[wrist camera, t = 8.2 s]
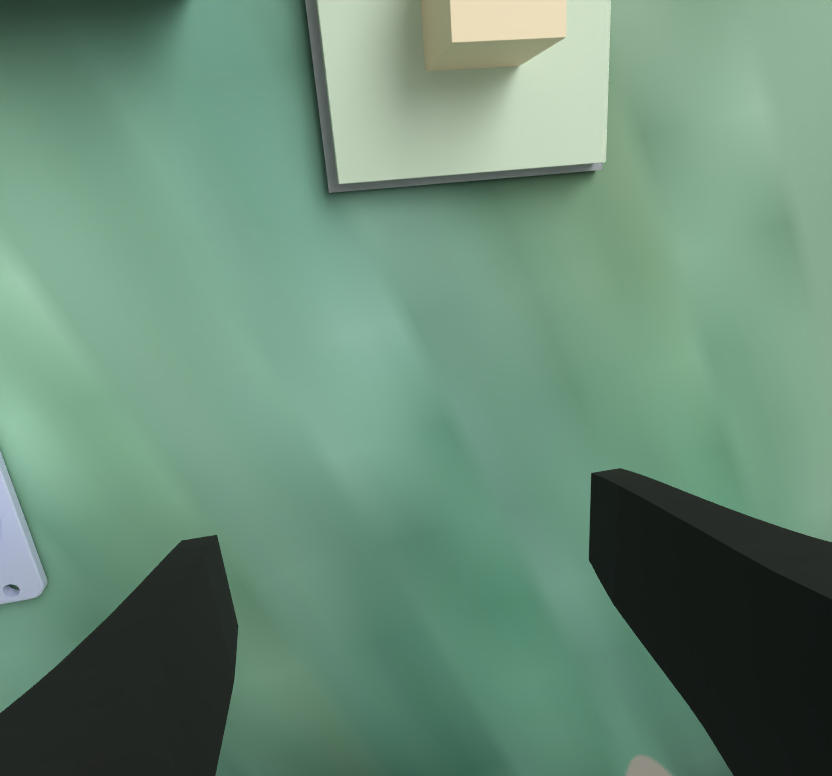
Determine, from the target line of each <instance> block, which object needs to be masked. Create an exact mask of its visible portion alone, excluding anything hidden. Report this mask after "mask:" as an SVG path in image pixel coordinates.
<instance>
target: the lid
mask: <svg viewBox="0 0 832 776" xmlns="http://www.w3.org/2000/svg"><path fill="white" fill-rule="evenodd" d="M316 4H317V13H318V21H319V30H320V38H321V46H322V55H323V63H324V72H325V80H326V88H327V97H328V105H329V114H330V122H331V130H332V139H333V147H334V156H335V164H336V172H337V181H338V184H349V183H362V182H374V181H386V180H398V179H410V178H422V177H434V176H447V175H459V174H471V173H483V172H495V171H507V170H519V169H532V168H544V167H556V166H568V165H580V164H592V163H601V162H606V140H607V108H608V76H609V44H610V12H611V0H316Z"/></svg>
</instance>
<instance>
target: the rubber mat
mask: <svg viewBox="0 0 832 776" xmlns="http://www.w3.org/2000/svg"><path fill="white" fill-rule="evenodd" d="M305 5H306V13H307V21H308V29H309V37H310V45H311V53H312V61H313V69H314V77H315V85H316V93H317V101H318V109H319V117H320V125H321V133H322V141H323V150H324V158H325V166H326V174H327V182H328V190H329V193H333V192H345V191H357V190H369V189H380V188H392V187H404V186H416V185H428V184H440V183H452V182H464V181H476V180H488V179H500V178H512V177H524V176H536V175H548V174H560V173H572V172H584V171H596V170H602V165H603V162H601V163H592V164H580V165H568V166H556V167H544V168H532V169H519V170H507V171H495V172H483V173H471V174H459V175H447V176H434V177H422V178H410V179H398V180H386V181H374V182H362V183H349V184H338V181H337V172H336V164H335V156H334V147H333V139H332V130H331V122H330V114H329V105H328V97H327V88H326V80H325V72H324V63H323V55H322V46H321V38H320V30H319V21H318V13H317V4H316V0H305Z"/></svg>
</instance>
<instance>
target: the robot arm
mask: <svg viewBox="0 0 832 776" xmlns="http://www.w3.org/2000/svg"><path fill="white" fill-rule="evenodd" d="M589 561H590V563H591V565H592V567H593V569H594V570H595V572H596V574H597V576H598V578H599V580H600V582H601V584H602V585H603V587H604V589H605V591H606V592H607V594H608V596H609V597H610V599H611V601H612V603H613V604H614V606H615V607H616V608H617V610H618V611H619V613H620V614H621V615H622V617H623V618H624V619H625V621H626V622H627V624H628V625H629V626H630V628H631V629H632V630H633V632H634V633H635V634H636V636H637V637H638V638H639V640H640V641H641V642H642V644H643V645H644V646H645V648H646V649H647V650H648V652H649V653H650V654H651V656H652V657H653V658H654V660H655V661H656V662H657V664H658V665H659V666H660V668H661V669H662V670H663V672H664V673H665V674H666V676H667V677H668V678H669V680H670V681H671V682H672V684H673V685H674V686H675V688H676V689H677V690H678V692H679V693H680V694H681V696H682V697H683V698H684V700H685V701H686V702H687V704H688V705H689V707H690V708H691V710H692V711H693V712H694V714H695V715H696V717H697V718H698V720H699V721H700V723H701V724H702V725H703V727H704V728H705V730H706V731H707V733H708V735H709V736H710V738H711V740H712V741H713V743H714V745H715V746H716V748H717V749H718V751H719V753H720V754H721V756H722V758H723V759H724V761H725V762H726V764H727V766H728V767H729V769H730V771H731V772H732V774H733V775H734V776H832V542H828V541H824V540H821V539H817V538H814V537H810V536H807V535H804V534H801V533H797V532H794V531H791V530H788V529H785V528H782V527H779V526H776V525H773V524H770V523H767V522H765V521H762V520H759V519H756V518H753V517H750V516H747V515H745V514H742V513H739V512H736V511H734V510H731V509H728V508H726V507H723V506H720V505H718V504H715V503H713V502H710V501H707V500H705V499H702V498H700V497H697V496H695V495H692V494H690V493H687V492H684V491H682V490H679V489H677V488H674V487H672V486H669V485H667V484H664V483H662V482H659V481H656V480H654V479H651V478H648V477H646V476H643V475H640V474H637V473H634V472H631V471H628V470H624V469H621V468H619V469H613V470H607V471H601V472H595V473H591V503H590V538H589ZM9 584H14V585H16V586H18V588H19V590H18V589H13V588H11V587H10V586H9ZM46 586H47V578H46V575H45V572H44V570H43V567H42V564H41V561H40V559H39V556H38V553H37V550H36V548H35V545H34V542H33V539H32V537H31V534H30V531H29V528H28V526H27V523H26V520H25V517H24V515H23V512H22V509H21V506H20V504H19V501H18V498H17V495H16V493H15V490H14V487H13V484H12V482H11V479H10V476H9V473H8V471H7V468H6V465H5V462H4V459H3V457H2V454H1V451H0V604H5V603H11V602H17V601H22V600H28V599H33V598H36V597H38V596H39V595H41V594H42V592H43V591H44V589H45V588H46ZM237 635H238V623H237V619H236V615H235V611H234V606H233V602H232V598H231V593H230V589H229V585H228V580H227V576H226V572H225V568H224V563H223V559H222V555H221V550H220V546H219V542H218V537H217V535H213V536H207V537H201V538H195V539H189V540H183V541H181V542H180V543H179V544H178V545H177V546H176V547H175V548H174V549H173V550H172V551H171V552H170V553H169V554H168V555H167V556H166V557H165V558H164V559H163V560H162V561H161V562H160V563H159V565H158V566H157V567H156V568H155V569H154V570H153V571H152V572H151V573H150V574H149V575H148V576H147V577H146V578H145V579H144V581H143V582H142V583H141V584H140V585H139V586H138V587H137V588H136V589H135V590H134V591H133V592H132V593H131V594H130V595H129V596H128V597H127V598H126V599H125V600H124V601H123V602H122V603H121V604H120V605H119V606H118V607H117V609H116V610H115V611H114V612H113V613H112V614H111V615H110V616H109V617H108V618H107V619H106V620H105V621H103V622H102V623H101V624H100V625H99V626H98V627H97V628H96V629H95V630H94V631H93V632H92V633H91V634H90V635H89V636H88V637H87V638H86V639H85V640H83V641H82V642H81V643H80V644H79V645H78V646H77V647H76V648H75V649H74V650H73V651H72V652H71V653H70V654H69V655H68V656H67V657H66V658H65V659H63V660H62V661H61V662H60V663H59V664H58V665H57V666H56V667H55V668H54V669H52V670H51V671H50V672H49V673H48V674H47V675H46V676H45V677H43V678H42V679H41V680H40V681H39V682H38V683H36V684H35V685H34V686H33V687H32V688H31V689H29V690H28V691H27V692H26V693H25V694H23V695H22V696H21V697H20V698H18V699H17V700H16V701H15V702H13V703H12V704H11V705H10V706H9V707H7V708H6V709H5V710H4V711H2V712H1V713H0V776H215V774H216V769H217V764H218V759H219V754H220V750H221V745H222V740H223V735H224V730H225V725H226V720H227V715H228V709H229V704H230V699H231V694H232V689H233V683H234V676H235V664H236V651H237Z"/></svg>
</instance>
